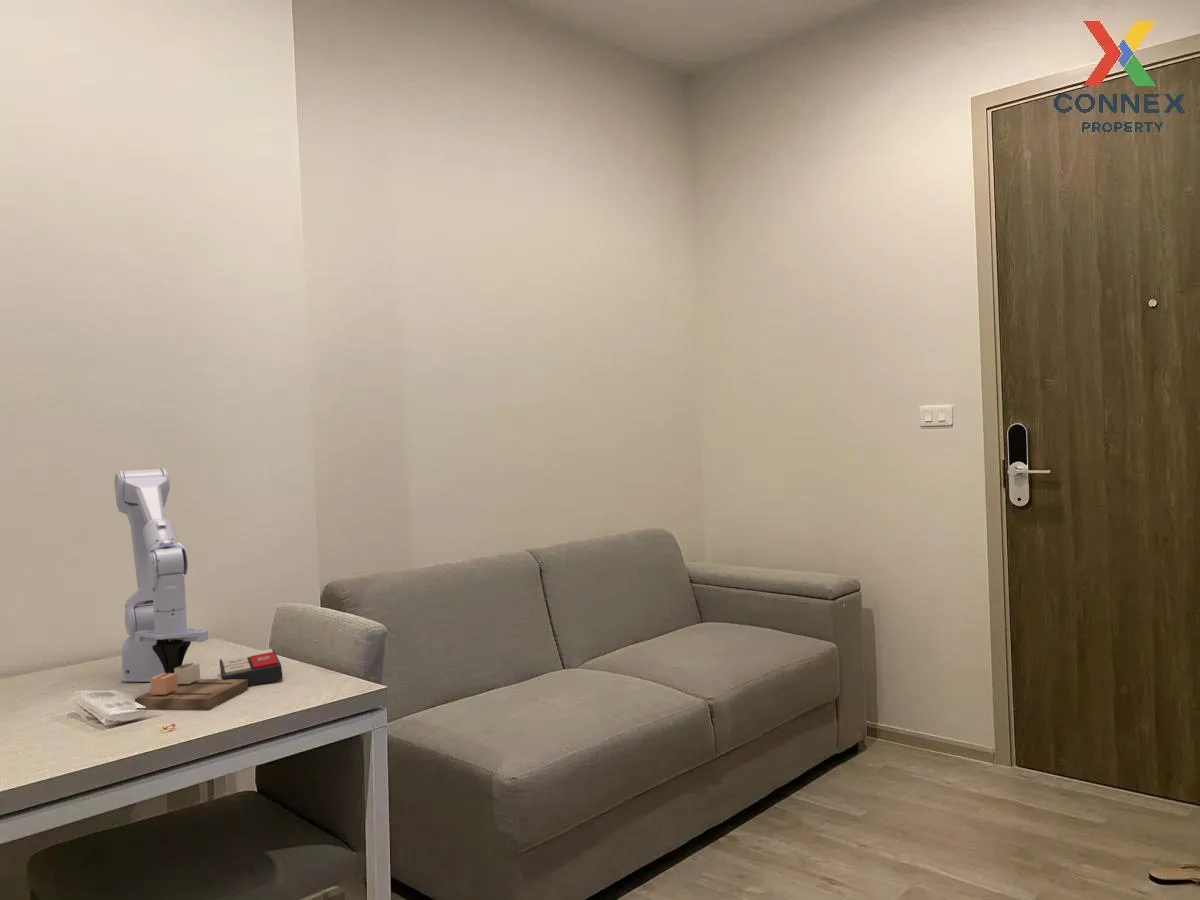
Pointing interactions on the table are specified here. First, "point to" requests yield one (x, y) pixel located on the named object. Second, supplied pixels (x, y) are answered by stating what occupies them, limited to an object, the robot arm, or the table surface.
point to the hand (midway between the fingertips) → (173, 678)
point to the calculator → (252, 667)
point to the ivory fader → (187, 673)
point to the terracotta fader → (164, 683)
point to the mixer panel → (195, 695)
